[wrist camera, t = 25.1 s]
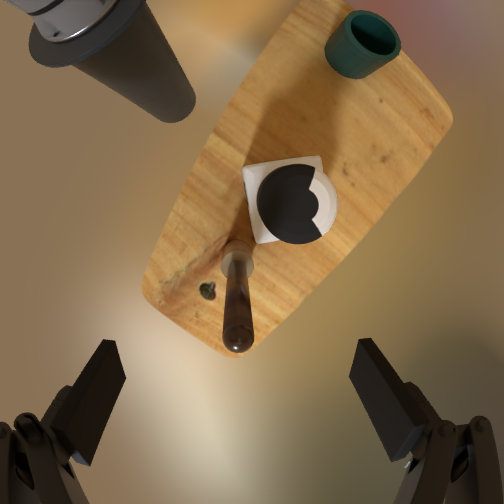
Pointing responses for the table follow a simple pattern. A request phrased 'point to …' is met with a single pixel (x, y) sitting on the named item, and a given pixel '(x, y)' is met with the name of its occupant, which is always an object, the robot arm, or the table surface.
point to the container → (289, 200)
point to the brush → (237, 297)
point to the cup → (362, 45)
